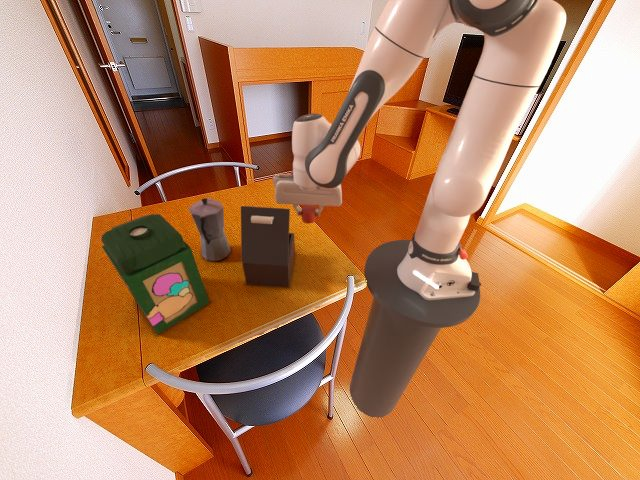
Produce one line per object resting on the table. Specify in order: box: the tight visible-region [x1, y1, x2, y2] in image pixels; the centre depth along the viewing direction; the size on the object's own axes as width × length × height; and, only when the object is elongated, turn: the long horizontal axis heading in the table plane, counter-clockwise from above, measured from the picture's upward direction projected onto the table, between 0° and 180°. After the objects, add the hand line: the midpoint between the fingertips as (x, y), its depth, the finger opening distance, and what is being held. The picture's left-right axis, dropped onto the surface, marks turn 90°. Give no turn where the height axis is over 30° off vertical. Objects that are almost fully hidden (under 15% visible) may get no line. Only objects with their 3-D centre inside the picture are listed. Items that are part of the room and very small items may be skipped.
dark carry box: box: [241, 232, 296, 288], centre depth 84 cm, size 15×13×9 cm
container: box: [101, 213, 211, 336], centre depth 67 cm, size 15×18×25 cm
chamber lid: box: [240, 205, 291, 265], centre depth 71 cm, size 15×13×5 cm
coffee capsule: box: [301, 205, 317, 224], centre depth 87 cm, size 4×4×4 cm
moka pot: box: [188, 197, 231, 262], centre depth 84 cm, size 10×15×20 cm, turn 14°
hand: (308, 215), depth 87 cm, fingers closed on coffee capsule, 4 cm apart
